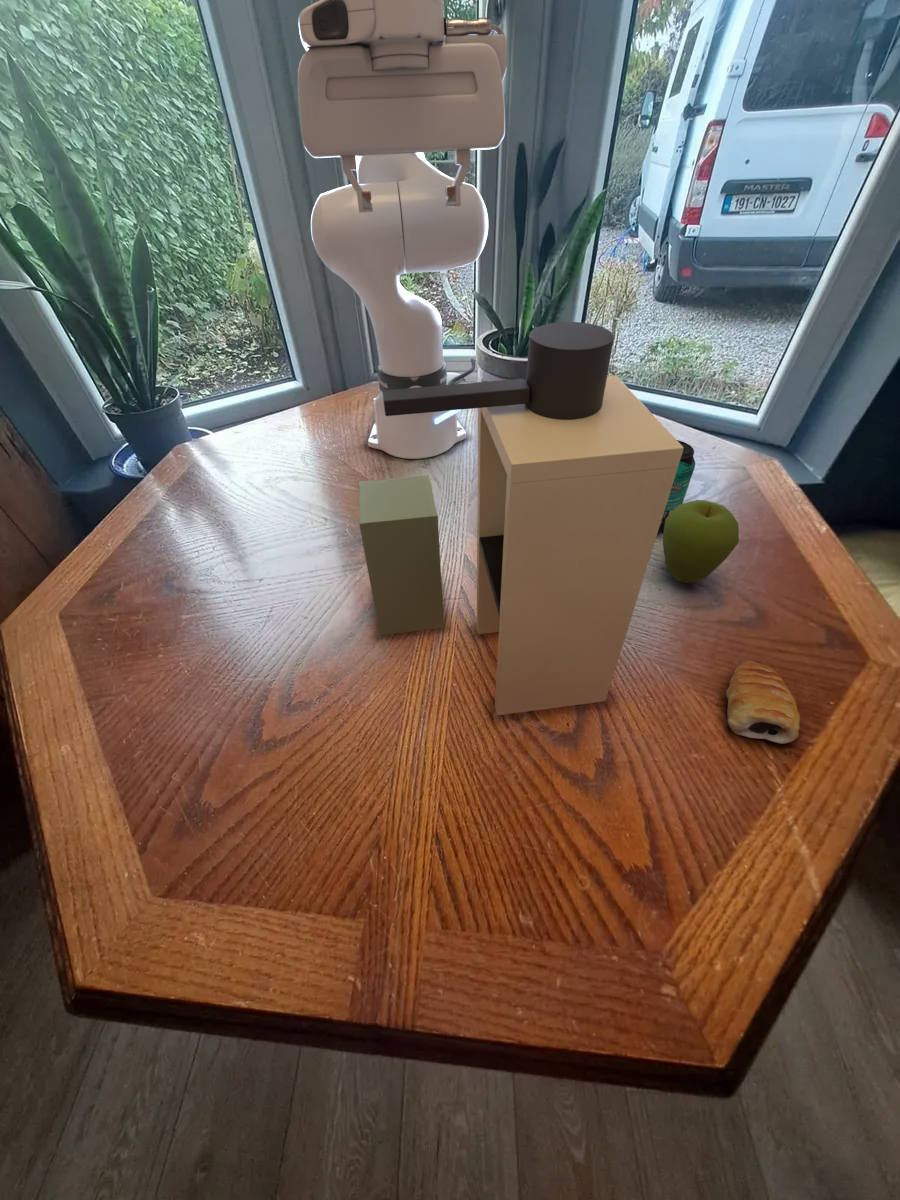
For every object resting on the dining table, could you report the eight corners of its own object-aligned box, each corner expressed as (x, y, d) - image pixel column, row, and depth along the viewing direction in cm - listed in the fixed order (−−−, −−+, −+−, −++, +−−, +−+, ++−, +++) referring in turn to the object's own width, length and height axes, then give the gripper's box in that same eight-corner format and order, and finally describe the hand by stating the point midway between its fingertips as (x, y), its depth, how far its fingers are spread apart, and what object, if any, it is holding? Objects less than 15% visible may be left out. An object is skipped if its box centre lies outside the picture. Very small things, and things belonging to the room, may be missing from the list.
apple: (637, 566, 72) (658, 495, 64) (687, 551, 74) (713, 480, 66) (678, 607, 66) (706, 534, 58) (731, 589, 68) (766, 517, 60)
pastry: (718, 665, 59) (730, 643, 57) (783, 678, 58) (799, 656, 55) (725, 735, 53) (738, 715, 50) (798, 752, 52) (816, 731, 49)
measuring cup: (384, 402, 42) (376, 336, 39) (587, 384, 43) (597, 319, 40) (387, 436, 38) (378, 366, 34) (613, 416, 39) (626, 345, 36)
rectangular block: (377, 591, 70) (358, 481, 58) (436, 585, 71) (429, 474, 59) (380, 635, 64) (359, 523, 52) (444, 628, 65) (437, 515, 53)
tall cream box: (476, 627, 65) (478, 386, 44) (570, 616, 66) (616, 374, 45) (496, 715, 56) (511, 464, 35) (605, 701, 56) (684, 447, 35)
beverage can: (630, 504, 83) (648, 433, 74) (676, 512, 81) (700, 440, 72) (624, 529, 78) (642, 456, 70) (673, 538, 76) (698, 465, 68)
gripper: (500, 25, 51) (498, 203, 59) (288, 32, 49) (317, 213, 58) (515, 7, 46) (510, 204, 54) (279, 15, 44) (313, 216, 53)
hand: (409, 209), depth 56 cm, fingers open, 8 cm apart
